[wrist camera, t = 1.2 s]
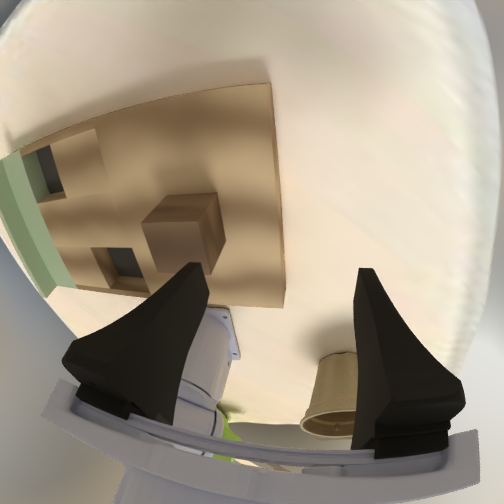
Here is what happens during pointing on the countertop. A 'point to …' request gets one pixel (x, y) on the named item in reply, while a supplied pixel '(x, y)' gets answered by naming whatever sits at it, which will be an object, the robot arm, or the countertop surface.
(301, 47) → the countertop surface
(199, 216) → the walnut block
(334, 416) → the flower pot
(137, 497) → the robot arm
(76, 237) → the box
